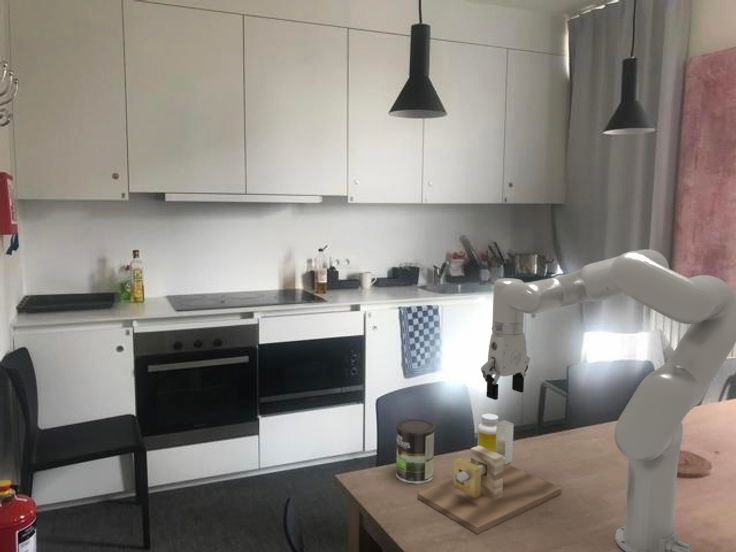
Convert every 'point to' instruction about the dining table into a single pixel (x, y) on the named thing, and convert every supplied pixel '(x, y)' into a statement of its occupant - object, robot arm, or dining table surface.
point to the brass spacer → (475, 477)
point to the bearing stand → (490, 494)
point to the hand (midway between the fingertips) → (505, 394)
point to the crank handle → (502, 447)
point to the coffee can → (415, 451)
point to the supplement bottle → (488, 432)
